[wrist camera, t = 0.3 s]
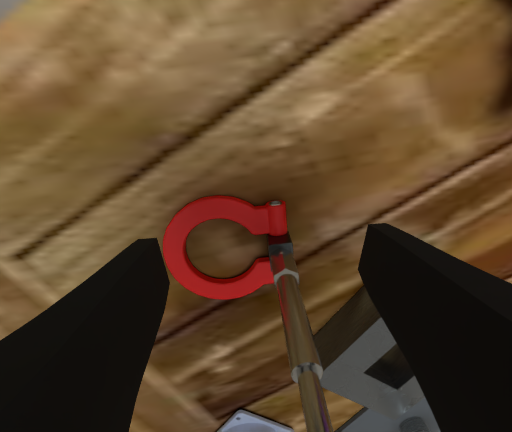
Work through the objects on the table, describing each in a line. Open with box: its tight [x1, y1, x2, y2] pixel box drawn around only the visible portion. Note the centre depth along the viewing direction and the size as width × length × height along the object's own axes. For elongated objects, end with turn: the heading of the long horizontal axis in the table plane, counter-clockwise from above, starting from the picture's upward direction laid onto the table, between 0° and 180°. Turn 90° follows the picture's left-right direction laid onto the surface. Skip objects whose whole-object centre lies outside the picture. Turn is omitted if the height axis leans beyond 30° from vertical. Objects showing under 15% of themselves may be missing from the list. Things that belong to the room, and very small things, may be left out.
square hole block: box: [314, 286, 425, 420], centre depth 23 cm, size 11×11×4 cm
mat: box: [335, 398, 441, 432], centre depth 31 cm, size 14×14×1 cm
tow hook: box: [163, 195, 333, 432], centre depth 14 cm, size 9×14×10 cm
